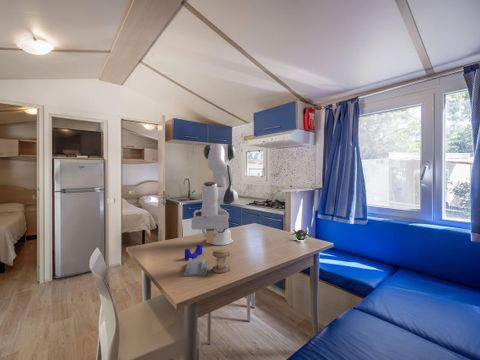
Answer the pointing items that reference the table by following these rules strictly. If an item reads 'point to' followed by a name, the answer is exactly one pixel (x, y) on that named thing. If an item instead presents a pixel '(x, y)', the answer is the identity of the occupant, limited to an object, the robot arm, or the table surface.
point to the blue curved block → (195, 254)
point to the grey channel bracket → (196, 268)
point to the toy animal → (301, 234)
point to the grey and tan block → (209, 235)
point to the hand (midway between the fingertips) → (210, 236)
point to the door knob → (221, 261)
